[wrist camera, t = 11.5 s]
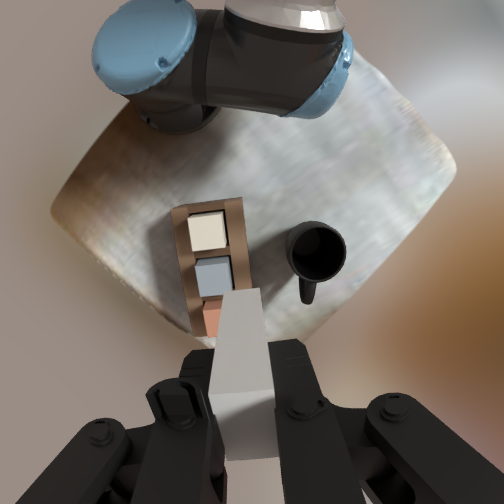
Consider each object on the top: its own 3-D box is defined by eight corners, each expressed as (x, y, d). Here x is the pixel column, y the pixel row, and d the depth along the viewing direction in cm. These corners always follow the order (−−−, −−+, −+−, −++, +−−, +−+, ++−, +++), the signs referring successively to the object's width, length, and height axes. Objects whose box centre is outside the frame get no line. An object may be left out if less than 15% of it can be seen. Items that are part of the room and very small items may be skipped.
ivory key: (195, 212, 45) (187, 218, 38) (224, 208, 45) (220, 214, 38) (199, 240, 46) (192, 251, 39) (227, 237, 46) (225, 247, 39)
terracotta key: (208, 292, 48) (202, 310, 41) (234, 289, 48) (233, 307, 41) (212, 316, 49) (207, 337, 42) (238, 314, 49) (237, 334, 42)
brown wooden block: (180, 205, 47) (170, 209, 41) (241, 197, 47) (241, 200, 41) (199, 317, 52) (193, 337, 45) (255, 312, 52) (257, 331, 45)
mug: (272, 281, 51) (278, 304, 42) (285, 211, 48) (295, 219, 39) (318, 288, 51) (332, 310, 42) (333, 220, 49) (352, 230, 39)
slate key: (201, 253, 47) (194, 266, 40) (229, 250, 47) (227, 262, 40) (206, 280, 48) (200, 296, 41) (233, 277, 48) (231, 293, 41)
